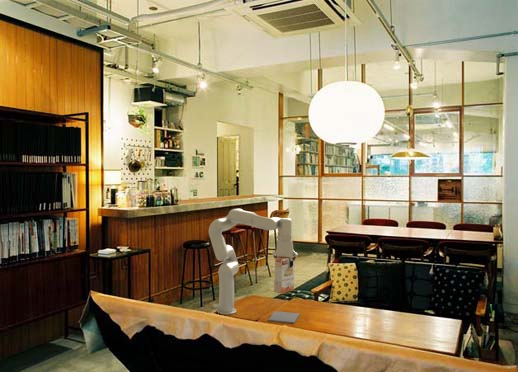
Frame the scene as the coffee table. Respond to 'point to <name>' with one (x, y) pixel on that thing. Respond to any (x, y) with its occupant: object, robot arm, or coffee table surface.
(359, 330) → the coffee table surface
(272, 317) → the slate mat
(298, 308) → the coffee table surface
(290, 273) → the cracker box
